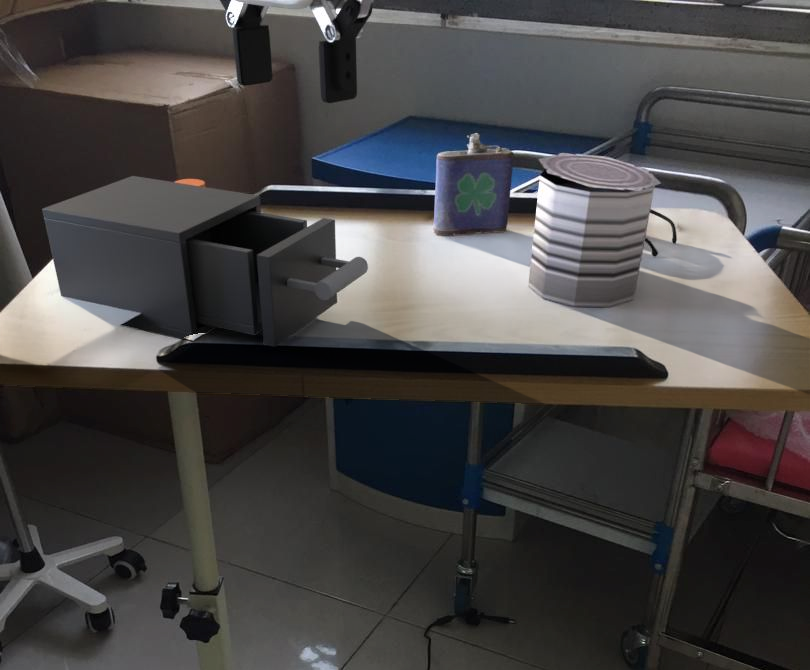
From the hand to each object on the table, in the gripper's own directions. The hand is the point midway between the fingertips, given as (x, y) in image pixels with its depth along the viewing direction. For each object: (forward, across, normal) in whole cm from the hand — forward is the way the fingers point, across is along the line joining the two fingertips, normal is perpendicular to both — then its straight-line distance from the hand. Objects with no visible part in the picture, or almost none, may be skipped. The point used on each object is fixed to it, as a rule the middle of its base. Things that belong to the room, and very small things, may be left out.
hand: (295, 91), depth 69 cm
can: (+21, +11, +28) cm, 36 cm away
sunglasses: (+21, +6, +44) cm, 49 cm away
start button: (+16, -32, +11) cm, 37 cm away
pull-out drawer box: (+19, -5, -1) cm, 20 cm away
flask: (+20, -9, +34) cm, 41 cm away
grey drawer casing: (+20, -15, -5) cm, 25 cm away
